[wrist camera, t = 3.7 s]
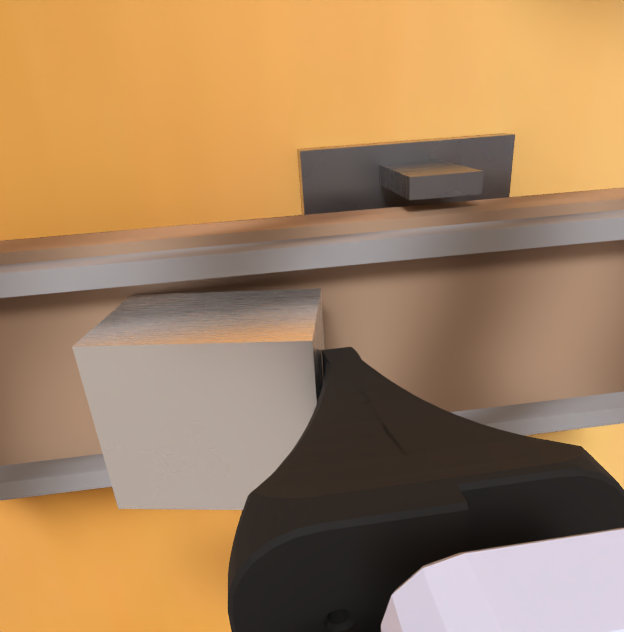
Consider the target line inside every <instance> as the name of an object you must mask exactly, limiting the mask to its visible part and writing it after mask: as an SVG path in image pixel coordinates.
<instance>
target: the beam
mask: <svg viewBox="0 0 624 632" xmlns="http://www.w3.org/2000/svg"><path fill="white" fill-rule="evenodd" d="M319 288H321V295H322V312H323V329H324V346H325V350H326V349H335V348H343V347H352V348H353V349H355V350H356V352H357V353H358V354H359V355H360V357H361V359H362V360H363V361H364V362H365V363H367V364H368V365H369V366H371V367H372V368H373V369H375V370H376V371H377V372H379V373H380V374H382V375H383V376H385V377H386V378H387V379H389V380H390V381H392V382H394V383H395V384H397V385H398V386H400V387H402V388H403V389H405V390H407V391H408V392H410V393H412V394H413V395H415V396H417V397H419V398H421V399H423V400H425V401H427V402H429V403H431V404H433V405H435V406H437V407H439V408H441V409H444V410H446V411H448V412H451V413H453V414H456V415H458V416H461V417H464V418H466V419H469V420H472V421H475V422H477V423H480V424H483V425H487V426H490V427H493V428H497V429H500V430H504V431H508V432H512V433H516V434H519V435H523V436H524V435H532V434H540V433H548V432H556V431H564V430H572V429H580V428H588V427H596V426H604V425H612V424H620V423H624V188H613V189H601V190H590V191H578V192H566V193H555V194H543V195H531V196H520V197H508V198H496V199H484V200H473V201H461V202H449V203H438V204H426V205H414V206H403V207H391V208H379V209H367V210H356V211H344V212H332V213H321V214H309V215H297V216H285V217H274V218H262V219H250V220H239V221H227V222H215V223H204V224H192V225H180V226H168V227H157V228H145V229H133V230H122V231H110V232H98V233H86V234H75V235H63V236H51V237H40V238H28V239H16V240H5V241H0V500H8V499H16V498H24V497H32V496H40V495H48V494H56V493H64V492H72V491H81V490H89V489H97V488H105V487H112V485H111V481H110V478H109V474H108V471H107V467H106V464H105V460H104V457H103V453H102V450H101V446H100V443H99V439H98V436H97V432H96V429H95V425H94V422H93V418H92V415H91V411H90V408H89V404H88V401H87V397H86V394H85V390H84V387H83V383H82V380H81V376H80V373H79V369H78V366H77V362H76V359H75V355H74V352H73V348H72V346H73V345H74V344H76V343H77V342H78V341H79V340H80V339H81V338H83V337H84V336H85V335H86V334H87V333H88V332H89V331H91V330H92V329H93V328H94V327H95V326H96V325H97V324H99V323H100V322H101V321H102V320H103V319H104V318H106V317H107V316H108V315H109V314H110V313H111V312H112V311H114V310H115V309H116V308H117V307H118V306H119V305H121V304H122V303H123V302H124V301H125V300H126V299H127V298H129V297H130V296H131V295H143V294H172V293H201V292H231V291H260V290H289V289H319Z"/></svg>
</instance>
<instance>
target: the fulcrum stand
mask: <svg viewBox="0 0 624 632" xmlns="http://www.w3.org/2000/svg"><path fill="white" fill-rule="evenodd" d="M514 140H515V135H514V134H490V135H477V136H464V137H451V138H438V139H425V140H412V141H399V142H385V143H372V144H359V145H346V146H333V147H320V148H307V149H298V163H299V177H300V191H301V205H302V215H309V214H321V213H332V212H344V211H356V210H367V209H379V208H391V207H403V206H414V205H426V204H438V203H449V202H461V201H473V200H484V199H496V198H508V197H509V193H510V182H511V172H512V161H513V150H514Z"/></svg>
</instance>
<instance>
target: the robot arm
mask: <svg viewBox="0 0 624 632" xmlns="http://www.w3.org/2000/svg"><path fill="white" fill-rule="evenodd" d="M322 365H323V386H322V390H321V393H320V396H319V399H318V402H317V405H316V408H315V410H314V412H313V415H312V417H311V419H310V421H309V423H308V425H307V427H306V429H305V431H304V432H303V434H302V436H301V437H300V439H299V440H298V442H297V444H296V445H295V447H294V448H293V449H292V451H291V452H290V453H289V455H288V456H287V457H286V458H285V459H284V461H283V462H282V463H281V464H280V465H279V467H278V468H277V469H276V470H275V471H274V472H273V474H272V475H271V476H269V477H268V478H267V479H266V480H265V481H264V482H263V483H261V484H260V485H259V486H258V487H257V488H256V489H254V490H253V491H252V492H251V493H250V494H249V495H248V497H247V500H246V502H245V505H244V508H243V511H242V514H241V517H240V520H239V524H238V527H237V530H236V534H235V538H234V542H233V546H232V551H231V557H230V563H229V571H228V615H229V620H230V625H231V630H232V632H624V490H623V488H622V487H621V486H620V484H619V483H618V482H617V481H616V480H615V479H614V478H613V477H612V476H611V475H610V474H609V473H608V472H607V471H606V470H605V469H604V468H603V467H602V466H601V465H600V464H599V463H598V462H597V461H596V460H595V459H594V458H593V457H592V456H591V455H590V454H589V453H588V452H587V451H586V450H584V449H583V448H582V447H581V446H576V445H571V444H565V443H560V442H554V441H549V440H543V439H537V438H532V437H527V436H523V435H519V434H516V433H512V432H508V431H504V430H500V429H497V428H493V427H490V426H487V425H483V424H480V423H477V422H475V421H472V420H469V419H466V418H464V417H461V416H458V415H456V414H453V413H451V412H448V411H446V410H444V409H441V408H439V407H437V406H435V405H433V404H431V403H429V402H427V401H425V400H423V399H421V398H419V397H417V396H415V395H413V394H412V393H410V392H408V391H407V390H405V389H403V388H402V387H400V386H398V385H397V384H395V383H394V382H392V381H390V380H389V379H387V378H386V377H385V376H383V375H382V374H380V373H379V372H377V371H376V370H375V369H373V368H372V367H371V366H369V365H368V364H367V363H365V362H364V361H363V360H362V359H361V357H360V355H359V354H358V353H357V352H356V350H355V349H353V348H352V347H343V348H335V349H326V350H322Z"/></svg>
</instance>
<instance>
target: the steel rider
mask: <svg viewBox="0 0 624 632" xmlns="http://www.w3.org/2000/svg"><path fill="white" fill-rule="evenodd" d="M72 348H73V352H74V355H75V359H76V362H77V366H78V369H79V373H80V376H81V380H82V383H83V387H84V390H85V394H86V397H87V401H88V404H89V408H90V411H91V415H92V418H93V422H94V425H95V429H96V432H97V436H98V439H99V443H100V446H101V450H102V453H103V457H104V460H105V464H106V467H107V471H108V474H109V478H110V481H111V485H112V488H113V492H114V495H115V499H116V502H117V506H118V509H204V510H243V508H244V505H245V502H246V500H247V497H248V495H249V494H250V493H251V492H252V491H253V490H254V489H256V488H257V487H258V486H259V485H260V484H261V483H263V482H264V481H265V480H266V479H267V478H268V477H269V476H271V475H272V474H273V472H274V471H275V470H276V469H277V468H278V467H279V465H280V464H281V463H282V462H283V461H284V459H285V458H286V457H287V456H288V455H289V453H290V452H291V451H292V449H293V448H294V447H295V445H296V444H297V442H298V440H299V439H300V437H301V436H302V434H303V432H304V431H305V429H306V427H307V425H308V423H309V421H310V419H311V417H312V415H313V412H314V410H315V408H316V405H317V402H318V399H319V396H320V393H321V390H322V386H323V365H322V350H325V346H324V329H323V312H322V295H321V288H319V289H289V290H260V291H231V292H201V293H172V294H143V295H131V296H130V297H129V298H127V299H126V300H125V301H124V302H123V303H122V304H121V305H119V306H118V307H117V308H116V309H115V310H114V311H112V312H111V313H110V314H109V315H108V316H107V317H106V318H104V319H103V320H102V321H101V322H100V323H99V324H97V325H96V326H95V327H94V328H93V329H92V330H91V331H89V332H88V333H87V334H86V335H85V336H84V337H83V338H81V339H80V340H79V341H78V342H77V343H76V344H74V345H73V346H72Z"/></svg>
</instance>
